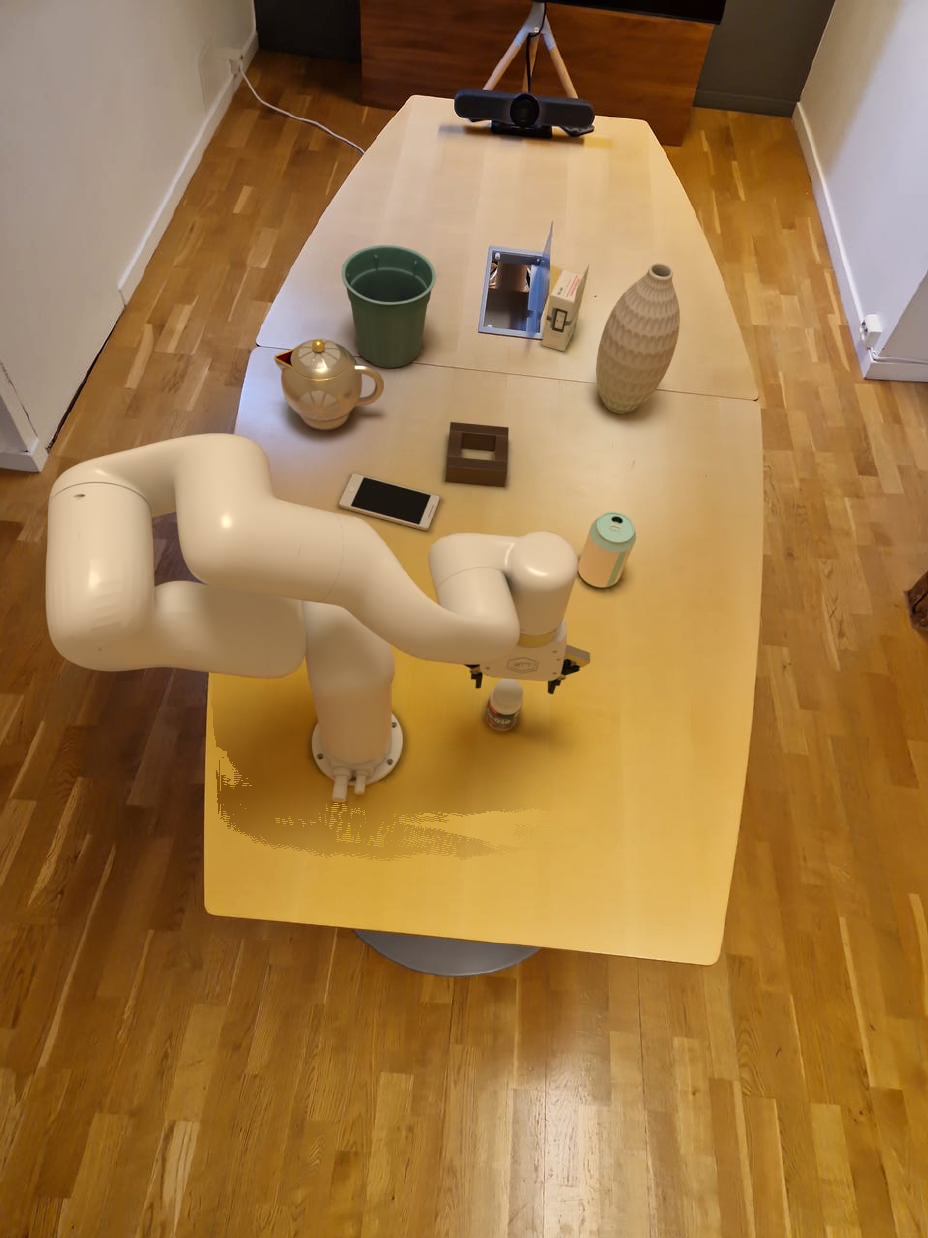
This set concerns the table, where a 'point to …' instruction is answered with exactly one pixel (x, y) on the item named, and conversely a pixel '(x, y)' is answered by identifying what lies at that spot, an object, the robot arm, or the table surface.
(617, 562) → the can
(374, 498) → the smartphone
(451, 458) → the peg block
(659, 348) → the vase
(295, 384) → the teapot
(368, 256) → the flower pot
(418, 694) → the table surface
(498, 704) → the pill bottle
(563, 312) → the ink box
